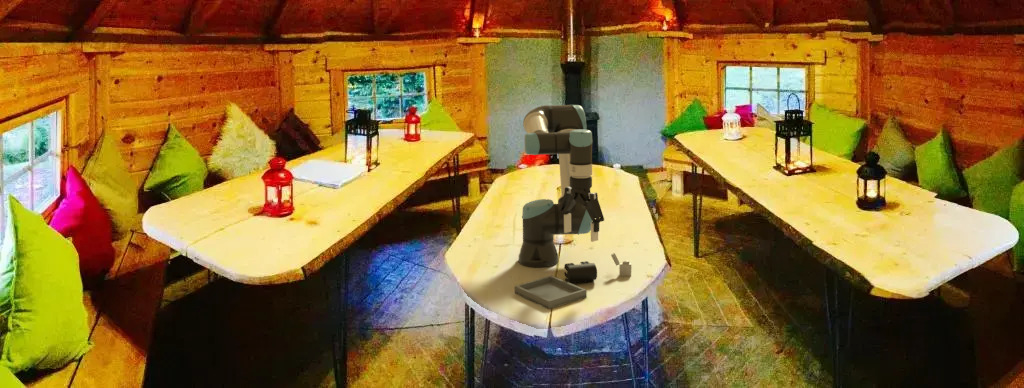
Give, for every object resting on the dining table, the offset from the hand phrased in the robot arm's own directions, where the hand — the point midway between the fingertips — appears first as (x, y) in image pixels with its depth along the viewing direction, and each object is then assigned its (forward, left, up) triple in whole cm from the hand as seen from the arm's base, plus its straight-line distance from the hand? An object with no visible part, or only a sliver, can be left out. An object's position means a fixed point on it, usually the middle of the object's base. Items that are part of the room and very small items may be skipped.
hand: (580, 236), depth 244 cm
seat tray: (+3, -16, -17) cm, 23 cm away
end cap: (0, 0, -17) cm, 17 cm away
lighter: (+4, +16, -17) cm, 23 cm away
